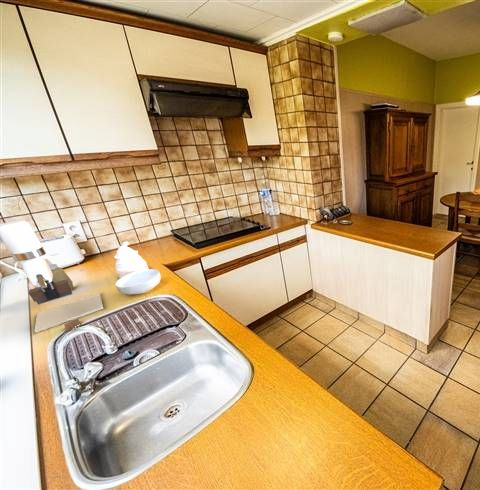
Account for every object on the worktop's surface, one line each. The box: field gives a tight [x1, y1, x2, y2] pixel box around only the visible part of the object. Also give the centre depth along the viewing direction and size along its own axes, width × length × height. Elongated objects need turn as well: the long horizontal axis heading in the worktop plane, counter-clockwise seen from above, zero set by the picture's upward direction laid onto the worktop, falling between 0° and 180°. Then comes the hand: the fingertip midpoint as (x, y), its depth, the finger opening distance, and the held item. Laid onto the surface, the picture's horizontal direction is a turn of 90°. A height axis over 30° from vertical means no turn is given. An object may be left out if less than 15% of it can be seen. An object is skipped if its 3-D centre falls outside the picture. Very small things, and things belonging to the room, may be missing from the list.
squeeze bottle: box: [44, 258, 74, 290], centre depth 128 cm, size 8×8×18 cm
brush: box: [28, 279, 73, 305], centre depth 103 cm, size 10×3×6 cm, turn 136°
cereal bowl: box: [115, 268, 162, 296], centre depth 128 cm, size 17×17×7 cm
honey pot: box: [113, 241, 150, 279], centre depth 143 cm, size 13×13×18 cm
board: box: [34, 292, 105, 334], centre depth 115 cm, size 20×17×1 cm
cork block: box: [63, 318, 82, 333], centre depth 105 cm, size 4×4×2 cm
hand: (54, 296), depth 104 cm, fingers closed on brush, 3 cm apart
